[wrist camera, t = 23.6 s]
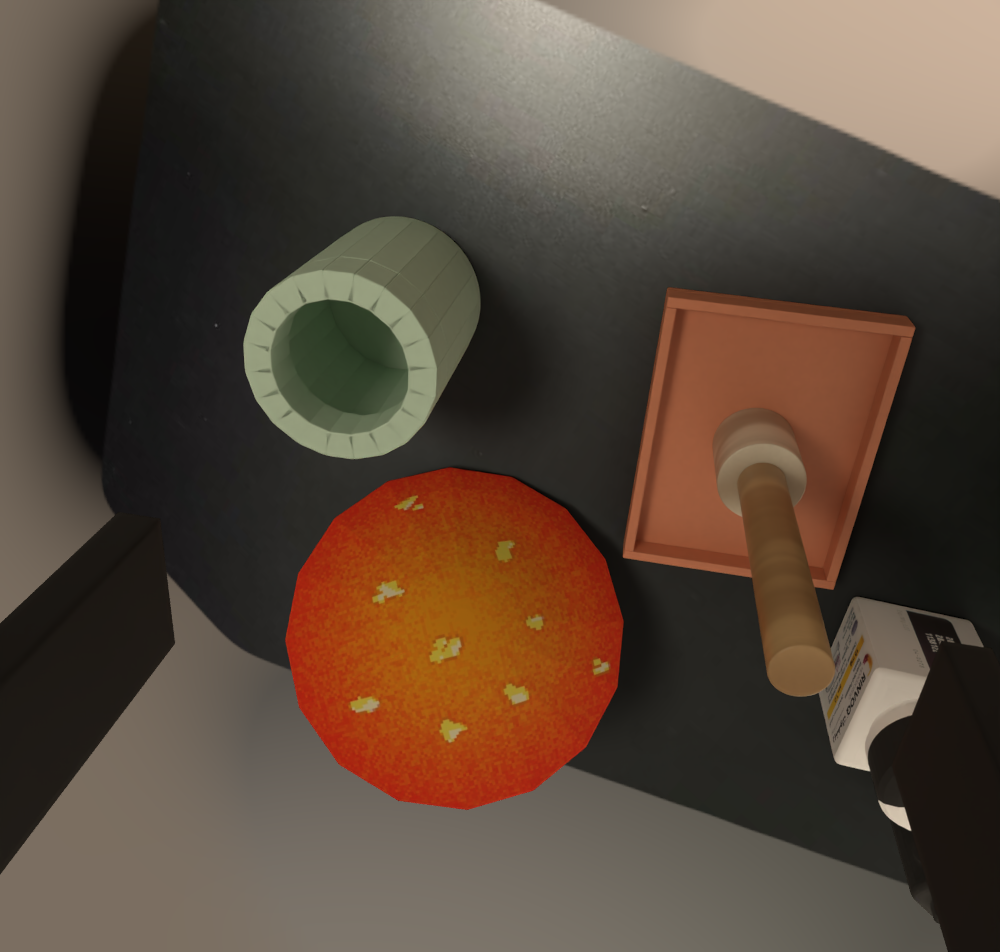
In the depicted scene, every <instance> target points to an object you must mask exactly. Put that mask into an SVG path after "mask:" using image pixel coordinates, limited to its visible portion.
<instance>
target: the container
mask: <svg viewBox="0 0 1000 952" xmlns="http://www.w3.org/2000/svg"><path fill="white" fill-rule="evenodd" d="M941 641H947V642H954V643H960V644H966V645H973V646H979V647H984V646H983V644H982V642H981V640H980V638H979V636H978V635H977V633H976V631H975V629H974V627H973V625H972V623H971V622H970V621H968V620H965V619H960V618H956V617H951V616H946V615H942V614H937V613H932V612H928V611H923V610H918V609H914V608H909V607H904V606H900V605H895V604H890V603H886V602H881V601H876V600H872V599H867V598H862V597H854V598H853V599H852V600H851V603H850V605H849V607H848V610H847V612H846V614H845V617H844V619H843V621H842V624H841V626H840V628H839V631H838V633H837V635H836V638H835V640H834V642H833V645H832V647H831V652H832V656H833V660H834V664H835V675H834V678H833V680H832V682H831V683H830V684H829V686H828V687H826V688H825V689H824V690H822V691H821V692H819V696H820V700H821V705H822V709H823V713H824V718H825V722H826V726H827V731H828V735H829V739H830V743H831V748H832V752H833V756H834V760H835V761H836V763H838V764H840V765H844V766H849V767H853V768H858V769H862V770H866V771H870V772H871V776H872V779H873V783H874V787H875V790H876V794H877V798H878V801H879V804H880V806H881V808H882V810H883V812H884V813H885V814H886V815H887V816H888V817H889V818H890V819H891V820H892V821H893V822H895V823H896V824H898V825H900V826H902V827H904V828H906V829H908V830H910V831H911V828H910V825H909V821H908V818H907V815H906V811H905V808H904V805H903V801H902V798H901V795H900V791H899V788H898V785H897V782H896V778H895V775H894V772H893V768H892V764H893V761H894V759H895V756H896V754H897V751H898V749H899V746H900V744H901V741H902V739H903V736H904V734H905V731H906V728H907V726H908V723H909V721H910V718H911V716H912V713H913V711H914V708H915V706H916V703H917V701H918V698H919V696H920V693H921V691H922V688H923V686H924V683H925V681H926V678H927V676H928V673H929V671H930V668H931V666H932V663H933V661H934V658H935V656H936V653H937V650H938V648H939V645H940V643H941Z"/></svg>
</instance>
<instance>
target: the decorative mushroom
mask: <svg viewBox="0 0 1000 952" xmlns="http://www.w3.org/2000/svg"><path fill="white" fill-rule="evenodd" d="M623 623H624V621H623V617H622V614H621V610H620V607H619V604H618V600H617V597H616V593H615V590H614V587H613V583H612V580H611V576H610V573H609V570H608V566H607V563H606V559H605V558H604V557H603V555H602V554H601V553H600V551H599V550H598V549H597V548H596V546H595V545H594V544H593V542H592V541H591V540H590V539H589V537H588V536H587V535H586V533H585V532H584V531H583V530H582V528H581V527H580V526H579V524H578V523H577V522H576V521H575V519H574V518H573V517H572V516H571V514H570V513H569V512H568V510H567V509H566V508H564V507H562V506H561V505H559V504H557V503H556V502H554V501H552V500H551V499H549V498H547V497H545V496H544V495H542V494H540V493H539V492H537V491H535V490H534V489H532V488H530V487H528V486H527V485H525V484H523V483H522V482H520V481H518V480H517V479H515V478H513V477H510V476H504V475H497V474H491V473H484V472H478V471H471V470H465V469H459V468H452V467H448V468H444V469H439V470H435V471H431V472H426V473H422V474H418V475H413V476H409V477H404V478H400V479H396V480H391V481H388V482H386V483H385V484H383V485H382V486H380V487H379V488H377V489H376V490H375V491H373V492H372V493H370V494H369V495H367V496H366V497H364V498H363V499H362V500H360V501H359V502H357V503H356V504H354V505H353V506H351V507H350V508H349V509H347V510H346V511H344V512H343V513H341V514H340V515H338V516H337V517H336V518H334V520H333V521H332V523H331V524H330V526H329V527H328V529H327V531H326V532H325V534H324V535H323V537H322V538H321V540H320V541H319V543H318V544H317V546H316V547H315V549H314V550H313V552H312V553H311V555H310V556H309V558H308V559H307V561H306V563H305V564H304V566H303V567H302V569H301V570H300V572H299V573H298V577H297V582H296V588H295V593H294V598H293V603H292V608H291V613H290V618H289V624H288V629H287V634H286V639H285V641H286V646H287V651H288V656H289V660H290V665H291V670H292V675H293V680H294V684H295V689H296V694H297V699H298V704H299V708H300V709H301V711H302V712H303V714H304V715H305V716H306V718H307V719H308V721H309V722H310V724H311V725H312V727H313V728H314V729H315V731H316V732H317V734H318V735H319V737H321V739H322V741H323V742H324V744H325V745H326V747H327V748H328V749H329V751H330V752H331V754H332V755H333V757H334V758H335V760H336V761H337V762H338V764H339V765H341V766H342V767H344V768H346V769H347V770H349V771H351V772H352V773H354V774H355V775H357V776H359V777H360V778H362V779H364V780H365V781H367V782H368V783H370V784H372V785H373V786H375V787H377V788H378V789H380V790H382V791H383V792H385V793H386V794H388V795H390V796H391V797H393V798H395V799H396V800H398V801H404V802H412V803H419V804H427V805H435V806H442V807H450V808H457V809H465V810H468V809H472V808H475V807H478V806H482V805H485V804H489V803H492V802H496V801H499V800H503V799H506V798H509V797H513V796H516V795H519V794H523V793H527V792H530V791H533V790H535V789H536V788H537V787H538V786H539V785H541V784H542V783H543V782H544V781H545V780H547V779H548V778H549V777H550V776H551V775H553V774H554V773H555V772H556V771H557V770H559V769H560V768H561V767H562V766H564V765H565V764H566V763H567V762H568V761H570V760H571V759H572V758H573V757H574V756H576V755H577V754H578V753H579V752H581V751H582V750H583V749H584V748H585V747H586V746H587V744H588V742H589V740H590V738H591V737H592V735H593V733H594V731H595V729H596V727H597V725H598V723H599V721H600V719H601V717H602V716H603V714H604V712H605V710H606V708H607V706H608V704H609V702H610V700H611V698H612V696H613V695H614V693H615V691H616V689H617V686H618V675H619V665H620V654H621V644H622V633H623Z"/></svg>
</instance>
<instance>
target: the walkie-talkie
mask: <svg viewBox="0 0 1000 952" xmlns="http://www.w3.org/2000/svg"><path fill="white" fill-rule="evenodd" d="M890 821H891V825H892V828H893V832H894V836H895V839H896V843H897V846H898V850H899V853H900V857H901V860H902V864H903V867H904V871H905V875H906V878H907V882H908V885H909V889H910V892H911V895H912V897H913V898H914V900H916V901H917V902H918V903H919V904H920V905H921V906H922V907H923V908H924V909H925V910H926V911H927V912H928V913H929V914H930V915H932V916H933V918H934V920H935V921H936V922H937V923H939V920H938V917H937V914H936V910H935V907H934V904H933V900H932V897H931V894H930V891H929V887H928V884H927V881H926V877H925V874H924V871H923V867H922V864H921V861H920V858H919V854H918V851H917V848H916V844H915V841H914V838H913V834H912V831H910V830H908V829H906V828H904V827H902V826H900V825H898V824H896V823H895V822H893V821H892V820H891V819H890Z"/></svg>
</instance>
